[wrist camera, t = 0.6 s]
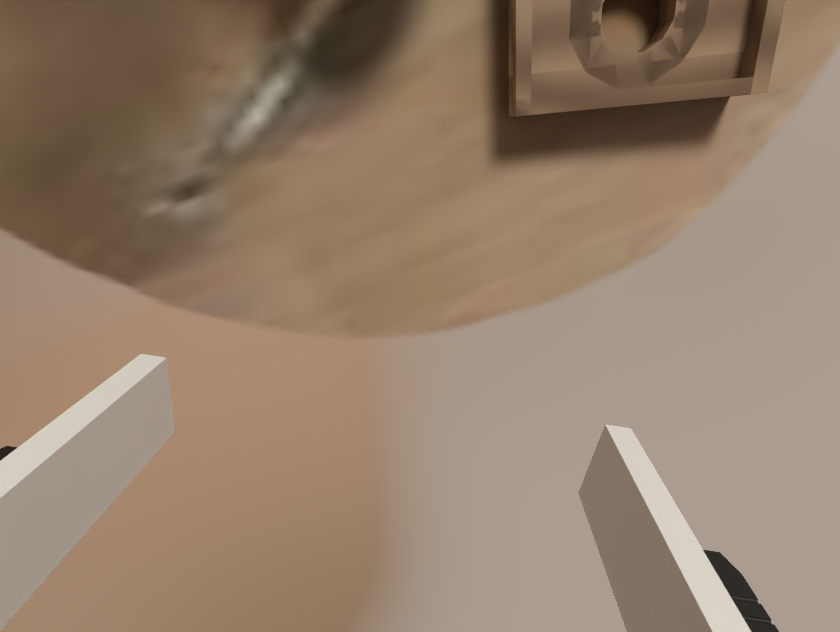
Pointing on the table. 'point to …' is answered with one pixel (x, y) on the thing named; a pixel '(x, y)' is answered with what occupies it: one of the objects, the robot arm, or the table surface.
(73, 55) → the table surface
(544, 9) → the board
